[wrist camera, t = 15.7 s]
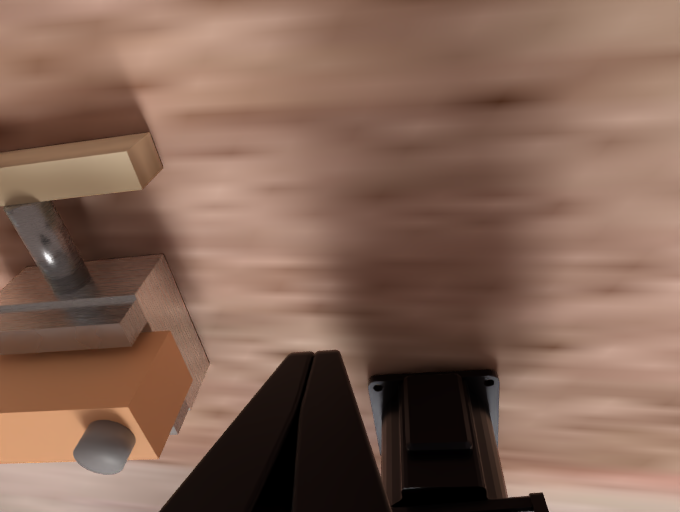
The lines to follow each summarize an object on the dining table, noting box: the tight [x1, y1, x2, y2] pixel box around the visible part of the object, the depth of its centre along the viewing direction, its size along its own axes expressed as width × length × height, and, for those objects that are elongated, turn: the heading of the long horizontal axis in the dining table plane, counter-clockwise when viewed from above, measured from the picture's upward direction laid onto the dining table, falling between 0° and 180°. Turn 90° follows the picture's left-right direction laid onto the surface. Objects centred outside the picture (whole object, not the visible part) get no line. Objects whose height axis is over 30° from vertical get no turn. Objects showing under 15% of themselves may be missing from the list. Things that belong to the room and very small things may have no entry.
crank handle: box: [0, 330, 193, 475], centre depth 20 cm, size 3×9×5 cm, turn 99°
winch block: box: [0, 200, 210, 435], centre depth 21 cm, size 11×7×4 cm, turn 9°
